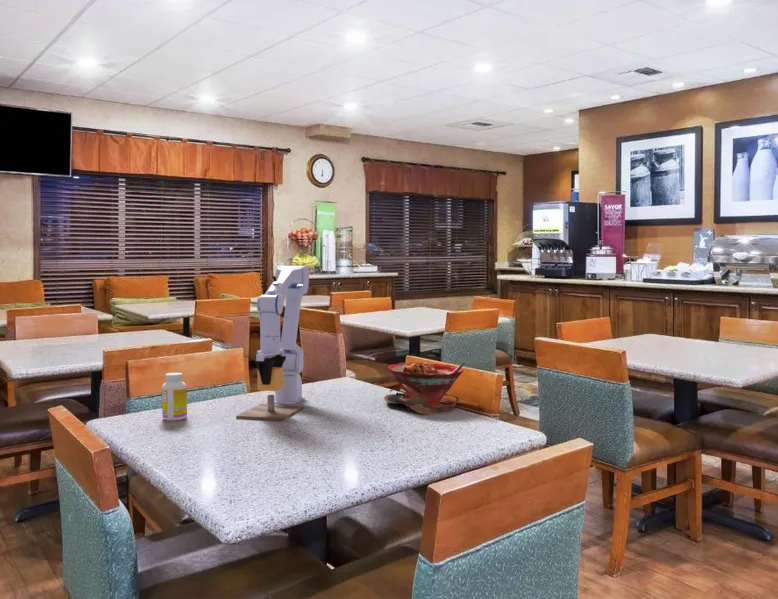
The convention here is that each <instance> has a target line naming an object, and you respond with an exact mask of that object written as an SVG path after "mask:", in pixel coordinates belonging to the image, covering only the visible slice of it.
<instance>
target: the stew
mask: <svg viewBox="0 0 778 599" xmlns="http://www.w3.org/2000/svg"><path fill="white" fill-rule="evenodd" d="M466 361H467V359H465V360H464V361H463V362H462V363H461V365H458V366H455V365H450V364H449V365H448V364H441V363H432V362H430V363H429V361H428V362H426V361H424V362H417V361H415V362H412V361H410V362H403V363H401V362H399V363H397V364H394V363H392V364H389V365H387V369H388V371H389V372H390V373H391V374H392V376H394V378H395V380H396V381H397V382H398V384H399V385H400V387H401V388H402V390H403V391H404V392H403V393H402V392H399V388H393V389H390V390H389V393H390V394H389V393H388V394H386V395H385V396H384V397H383V399H384V401H385V402H387V403H388V404H396V405H398V404H401V405H404V406H406V410H409V411H414V412H416V413H418V414H421V415H424V416H430V415H431V414H433V415H436V414H440V413H441V414H442V413H443V414H445V413H450V412H453V411H454V410H456V407H457V403H458V402H459V401H460V399H459V398H458V397H457V396H456V395H452V394H448V391H450V389H452V387H453V385H454V384H455V382H457V379H459V377H460V376H461V375H462V374H463V373H464V369H463V367H464V365H465V363H466ZM395 390H396V393H395V394H394V393H391V392H392V391H395ZM445 396H447V397H448V396H451V397H454V398H456V401H454V402H452V403H448V404H446V405H441V406H439V405H438V404H440V401H441V399H443V398H444V397H445ZM445 402H449V400H448V399H447V400H446V401H445ZM437 405H438V406H437Z"/></svg>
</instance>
